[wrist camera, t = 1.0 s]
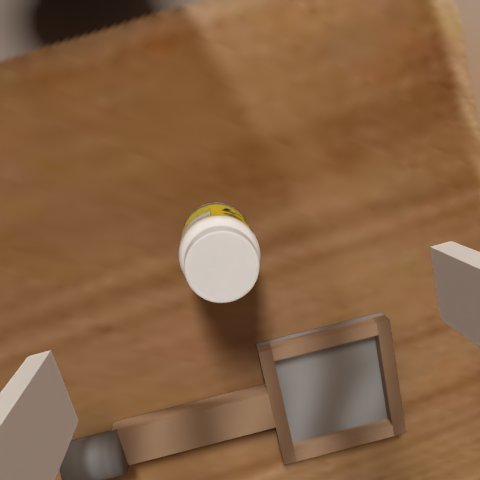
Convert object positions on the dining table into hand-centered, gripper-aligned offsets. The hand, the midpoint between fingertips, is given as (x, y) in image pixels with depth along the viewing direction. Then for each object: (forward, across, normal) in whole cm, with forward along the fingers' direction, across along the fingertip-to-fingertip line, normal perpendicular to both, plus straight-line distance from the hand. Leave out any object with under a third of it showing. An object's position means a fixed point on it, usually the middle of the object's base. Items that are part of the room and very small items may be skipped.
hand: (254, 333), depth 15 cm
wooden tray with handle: (+17, -2, -14) cm, 22 cm away
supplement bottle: (+17, 0, 0) cm, 17 cm away
